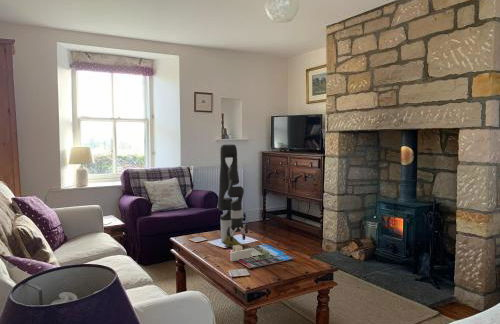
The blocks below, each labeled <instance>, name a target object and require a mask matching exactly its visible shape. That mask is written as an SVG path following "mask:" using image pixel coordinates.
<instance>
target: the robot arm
mask: <svg viewBox="0 0 500 324" xmlns="http://www.w3.org/2000/svg"><path fill="white" fill-rule="evenodd" d="M219 150H220V153H219V155H220V158H219V159H220V166H219V167H220V168H219V187H218V188H219V189H218V198H217V199H218V200H217V208H218V211H225V212H224V213H222V214H220V241H221V243H222V244H224V243H223V241H224V240H225V238H226V237H227V235H228V236H230V241H231V242H233V237H234V234H235V233H240V232H241V235H242V236H241V237H242V238H241V239H242V241H245V240H246V235H247V234H248V233H249V230H248V229H249V228H248V224H247V223H244V221H243V209H242V208H243V207H242V205H243V204H242V203H243V197H244V194H245V190H244V188H243V187H242V186H241V185H240V186H239V183H240V176H239V172H238V170H239V169H238V168H239V167H238V149H237V146H236V145H235V144H232V143H230V144H221V146H220V149H219ZM226 158H227V159H228V158H232V161H231V164H230V166H228V164H227V162H226V161H227V160H226ZM226 193H227V196H228V197H225V195H226ZM233 198H237V199H235V200H233ZM243 223H244V224H243ZM243 228H244V229H243ZM232 236H233V237H232Z"/></svg>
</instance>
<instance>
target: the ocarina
mask: <svg viewBox="0 0 500 324" xmlns="http://www.w3.org/2000/svg"><path fill="white" fill-rule="evenodd" d="M232 237H233V242H231V241H230V236H228V235H227V237H226V238H225V240H224V241H223V243H222V244H224V245H225V246H227V247H229V248H233V246H236V245H241V246H242V247H243V250H244V249H245V247H244V246H243V244H241V243H240V241H238V240H237V239H236V238H235V237H234V235H233V236H232Z"/></svg>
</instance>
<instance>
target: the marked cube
mask: <svg viewBox="0 0 500 324" xmlns="http://www.w3.org/2000/svg"><path fill="white" fill-rule="evenodd" d="M241 245H242V244H241ZM241 245H236V246H233V247H232V252H235V251H241V250H244V249H243V247H244V246H243V245H242V246H243V247H242V246H241Z"/></svg>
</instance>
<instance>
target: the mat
mask: <svg viewBox="0 0 500 324" xmlns="http://www.w3.org/2000/svg"><path fill="white" fill-rule="evenodd" d="M246 249H251V255H252V256H256V257H259V256H258V255H261V256H263V255H264V254H263V253H261V252H260V251H259V250H257V249H256V248H254V247H247V248H244V249H243V250H246ZM252 256H251V257H252Z"/></svg>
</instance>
